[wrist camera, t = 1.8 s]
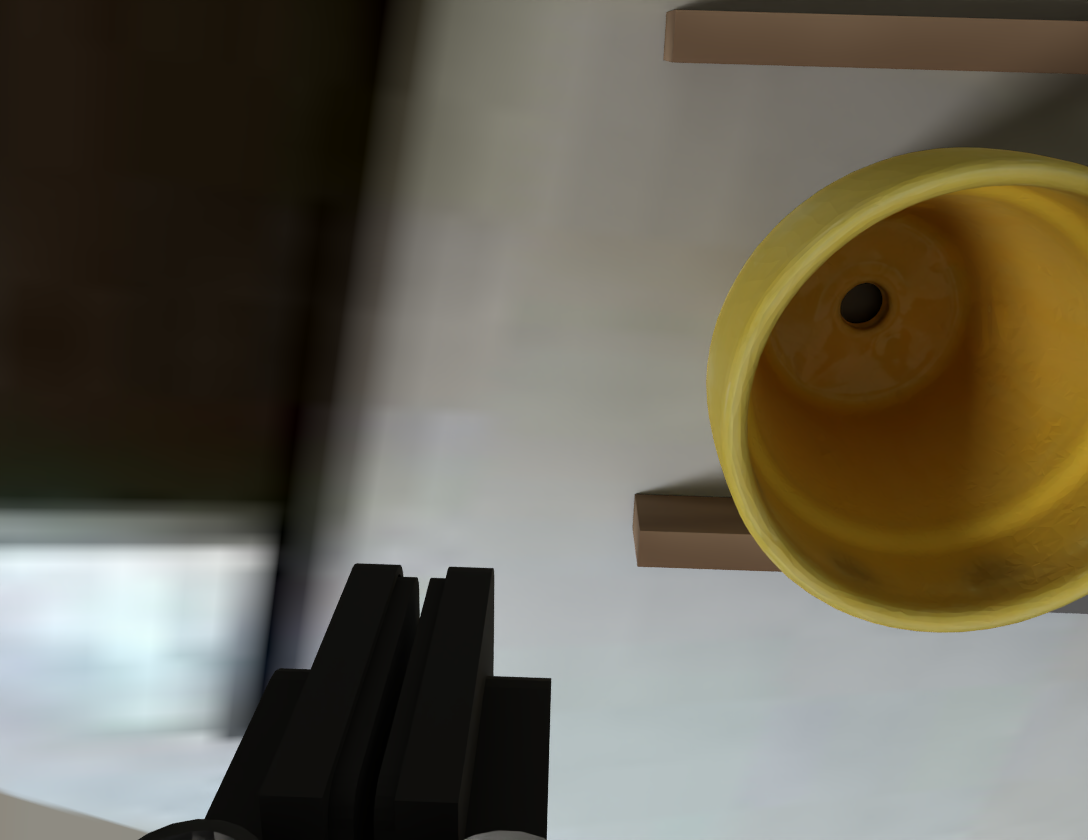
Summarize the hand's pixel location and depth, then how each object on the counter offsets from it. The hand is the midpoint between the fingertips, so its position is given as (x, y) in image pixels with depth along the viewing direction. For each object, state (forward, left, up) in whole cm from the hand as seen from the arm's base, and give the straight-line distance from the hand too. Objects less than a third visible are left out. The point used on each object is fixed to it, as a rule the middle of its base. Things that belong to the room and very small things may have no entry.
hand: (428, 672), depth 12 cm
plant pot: (0, +10, -19) cm, 21 cm away
